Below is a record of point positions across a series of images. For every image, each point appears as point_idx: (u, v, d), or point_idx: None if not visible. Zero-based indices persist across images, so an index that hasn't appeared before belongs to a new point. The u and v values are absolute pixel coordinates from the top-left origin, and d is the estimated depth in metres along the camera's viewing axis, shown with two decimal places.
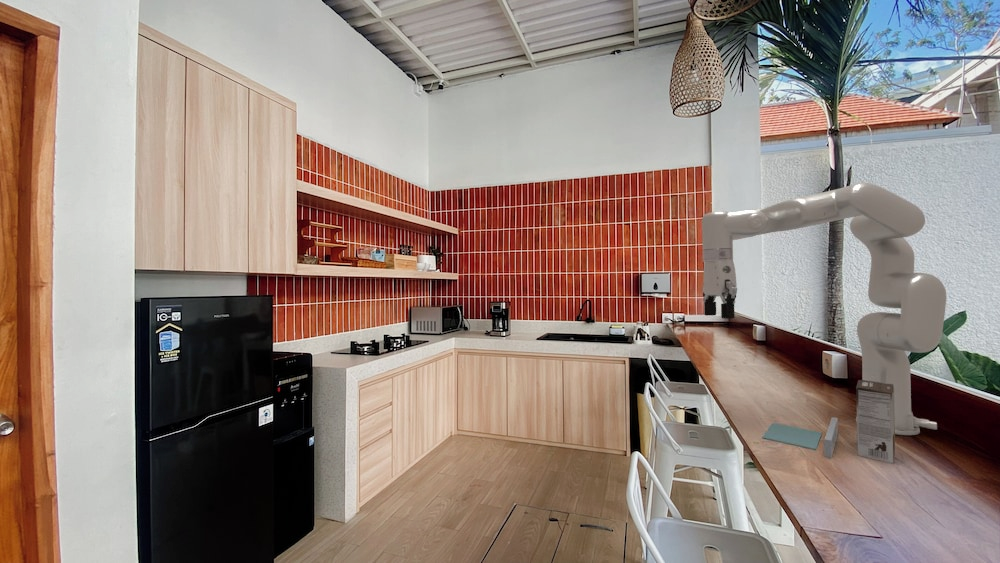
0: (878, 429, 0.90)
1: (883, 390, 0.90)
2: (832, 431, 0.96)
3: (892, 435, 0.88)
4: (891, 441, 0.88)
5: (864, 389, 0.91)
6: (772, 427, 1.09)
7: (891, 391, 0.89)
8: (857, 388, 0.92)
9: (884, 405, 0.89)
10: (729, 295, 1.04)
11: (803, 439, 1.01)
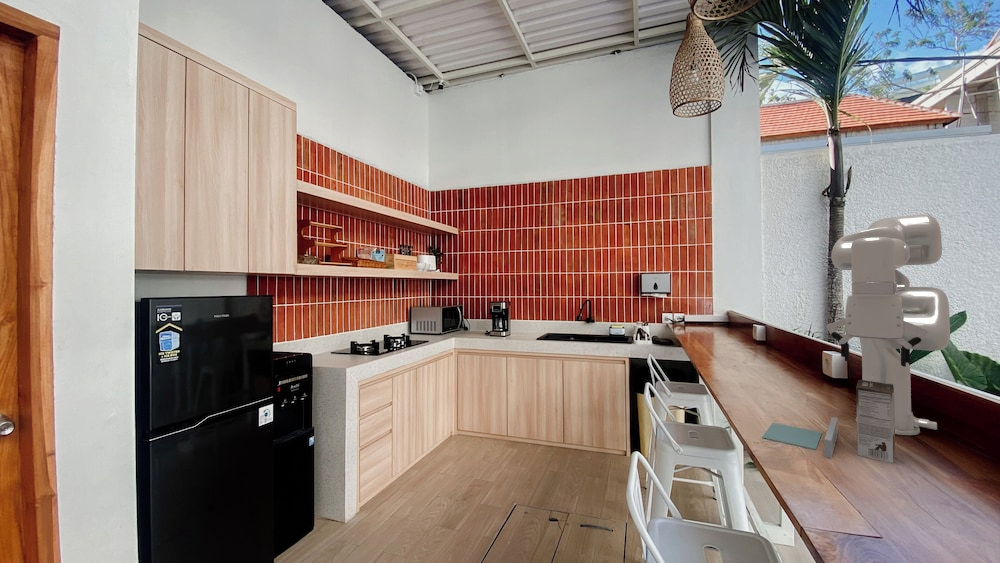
0: (878, 429, 0.90)
1: (883, 390, 0.90)
2: (832, 431, 0.96)
3: (892, 435, 0.88)
4: (891, 441, 0.88)
5: (864, 389, 0.91)
6: (772, 427, 1.09)
7: (891, 391, 0.89)
8: (857, 388, 0.92)
9: (884, 405, 0.89)
10: (919, 339, 0.87)
11: (803, 439, 1.01)
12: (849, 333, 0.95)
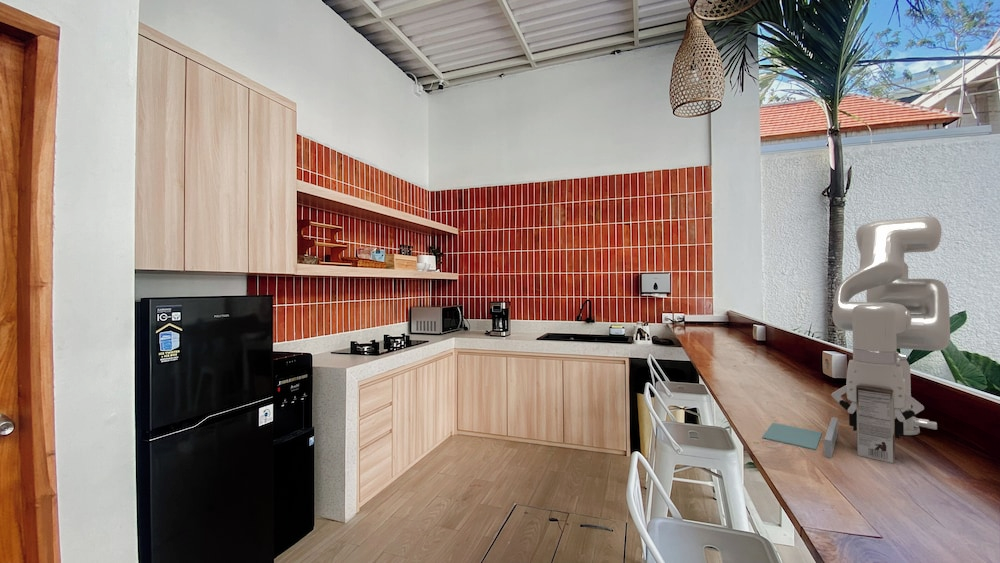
0: (878, 429, 0.90)
1: (883, 390, 0.90)
2: (832, 431, 0.96)
3: (892, 435, 0.88)
4: (891, 441, 0.88)
5: (864, 389, 0.91)
6: (772, 427, 1.09)
7: (891, 391, 0.89)
8: (857, 388, 0.92)
9: (884, 405, 0.89)
10: (913, 413, 0.88)
11: (803, 439, 1.01)
12: (850, 399, 0.95)
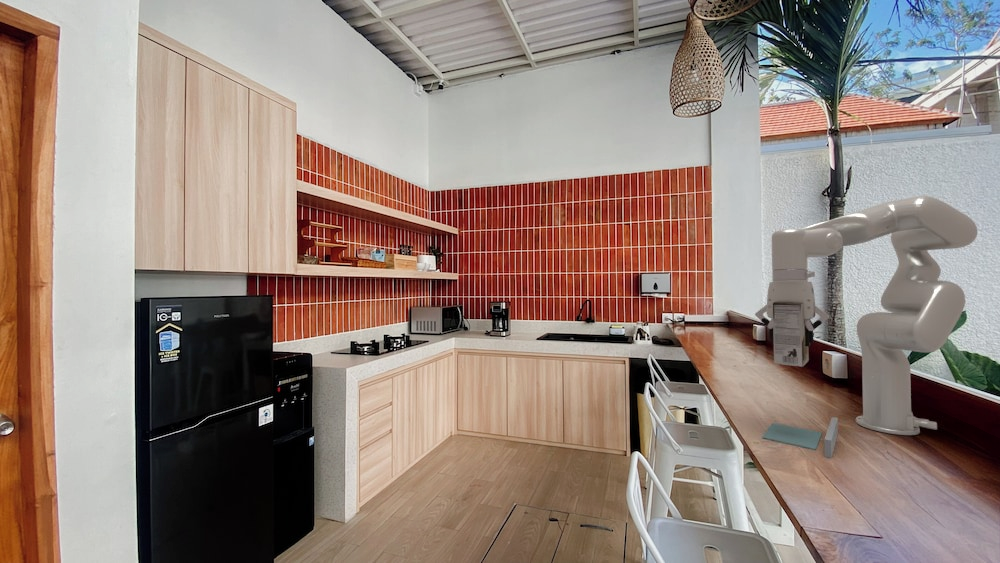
0: (790, 338, 1.01)
1: (794, 303, 1.01)
2: (832, 431, 0.96)
3: (801, 341, 0.99)
4: (800, 347, 0.99)
5: (779, 303, 1.02)
6: (772, 427, 1.09)
7: (801, 303, 1.00)
8: (773, 303, 1.03)
9: (795, 316, 1.00)
10: (820, 322, 0.99)
11: (803, 439, 1.01)
12: (769, 315, 1.06)
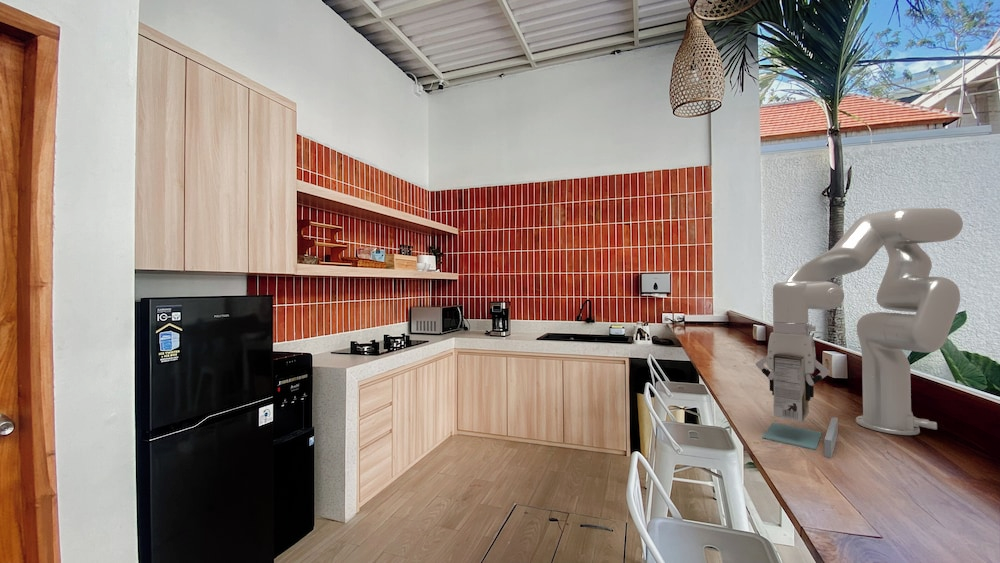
0: (790, 392, 1.01)
1: (795, 357, 1.01)
2: (832, 431, 0.96)
3: (801, 397, 0.99)
4: (800, 402, 0.99)
5: (779, 357, 1.02)
6: (772, 427, 1.09)
7: (801, 358, 1.00)
8: (774, 356, 1.03)
9: (795, 370, 1.00)
10: (820, 377, 0.99)
11: (803, 439, 1.01)
12: (770, 367, 1.06)
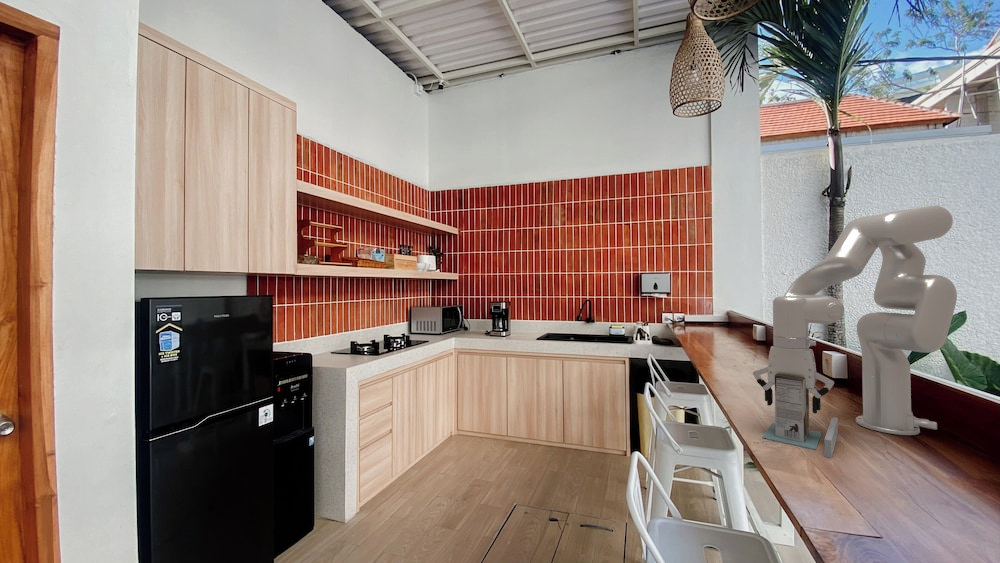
0: (792, 413, 1.01)
1: (796, 377, 1.01)
2: (832, 431, 0.96)
3: (803, 417, 0.99)
4: (802, 423, 0.99)
5: (781, 377, 1.02)
6: (772, 427, 1.09)
7: (802, 378, 1.00)
8: (775, 376, 1.03)
9: (797, 391, 1.00)
10: (827, 389, 0.99)
11: None
12: (770, 381, 1.06)
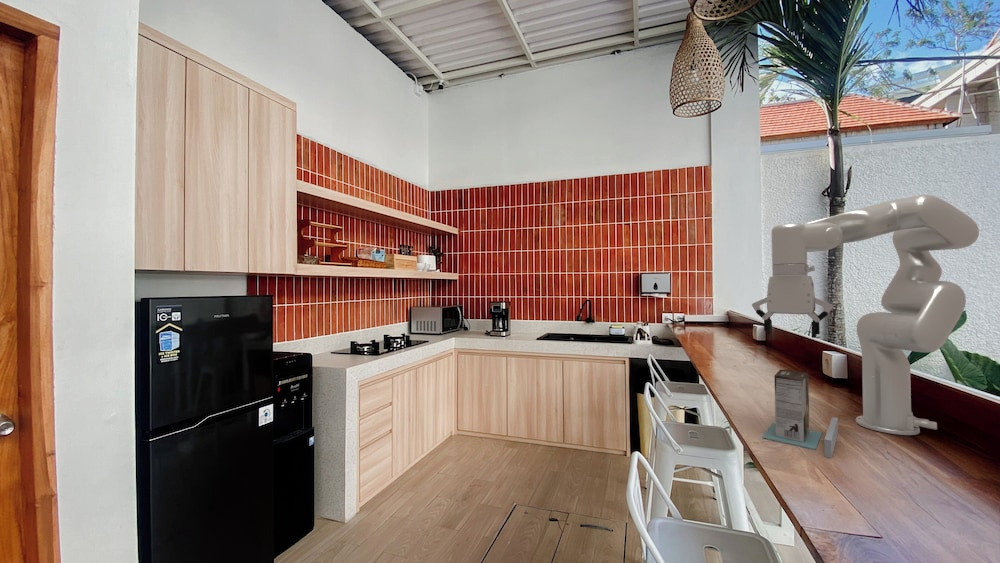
0: (792, 413, 1.01)
1: (796, 377, 1.01)
2: (832, 431, 0.96)
3: (803, 417, 0.99)
4: (802, 423, 0.99)
5: (780, 377, 1.02)
6: (772, 427, 1.09)
7: (802, 378, 1.00)
8: (775, 376, 1.03)
9: (797, 391, 1.00)
10: (826, 313, 0.99)
11: None
12: (770, 310, 1.06)
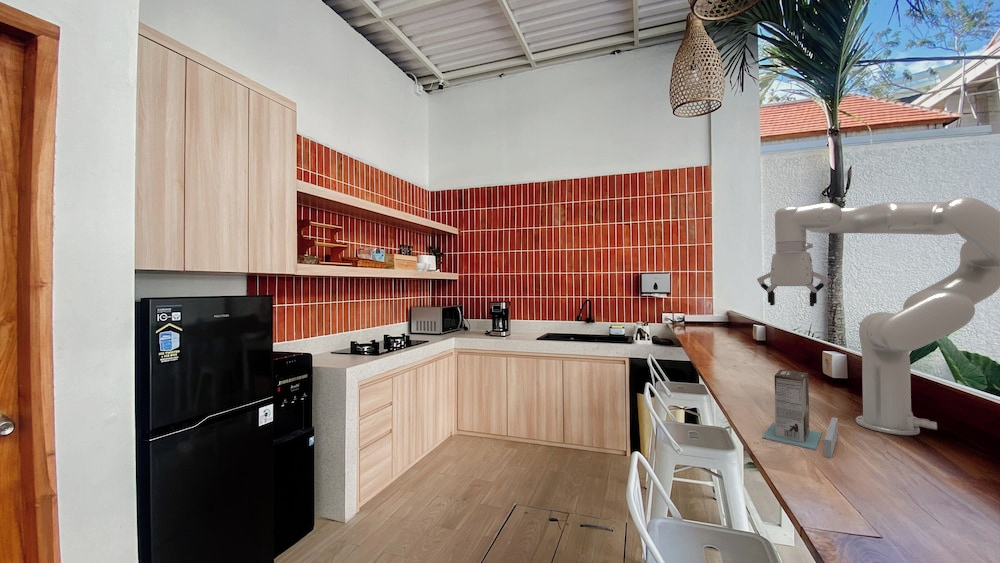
0: (792, 413, 1.01)
1: (796, 377, 1.01)
2: (832, 431, 0.96)
3: (803, 417, 0.99)
4: (802, 423, 0.99)
5: (780, 377, 1.02)
6: (772, 427, 1.09)
7: (802, 378, 1.00)
8: (775, 376, 1.03)
9: (797, 391, 1.00)
10: (822, 284, 1.13)
11: None
12: (773, 283, 1.20)
